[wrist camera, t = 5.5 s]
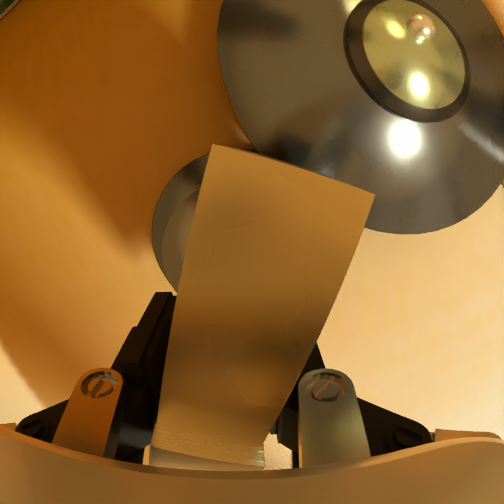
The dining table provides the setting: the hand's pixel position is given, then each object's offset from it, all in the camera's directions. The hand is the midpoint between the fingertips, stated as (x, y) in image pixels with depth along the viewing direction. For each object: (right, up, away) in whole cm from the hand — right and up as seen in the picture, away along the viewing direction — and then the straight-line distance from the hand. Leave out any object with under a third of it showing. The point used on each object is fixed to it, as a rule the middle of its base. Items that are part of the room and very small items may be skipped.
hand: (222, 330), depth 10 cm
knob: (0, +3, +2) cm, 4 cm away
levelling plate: (+5, +9, 0) cm, 10 cm away
